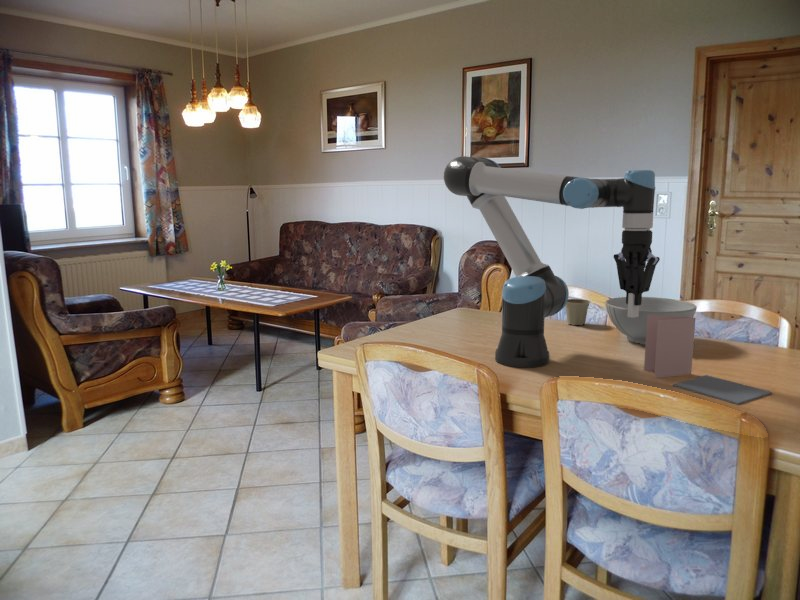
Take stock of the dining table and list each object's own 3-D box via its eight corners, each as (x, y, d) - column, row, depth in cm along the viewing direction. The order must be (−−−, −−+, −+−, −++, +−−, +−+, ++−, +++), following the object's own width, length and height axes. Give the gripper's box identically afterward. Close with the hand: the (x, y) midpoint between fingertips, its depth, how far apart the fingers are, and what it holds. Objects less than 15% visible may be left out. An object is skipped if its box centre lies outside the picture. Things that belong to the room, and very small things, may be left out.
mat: (737, 404, 131) (737, 402, 131) (672, 385, 145) (672, 384, 145) (771, 393, 138) (771, 391, 138) (706, 376, 152) (706, 375, 152)
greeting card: (690, 373, 155) (695, 316, 153) (694, 381, 148) (699, 322, 146) (643, 369, 159) (647, 314, 156) (645, 377, 152) (649, 320, 149)
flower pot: (557, 322, 219) (558, 299, 217) (579, 320, 222) (580, 298, 220) (572, 327, 210) (573, 303, 209) (594, 325, 213) (595, 302, 211)
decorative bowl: (587, 339, 192) (588, 303, 190) (630, 327, 209) (632, 294, 207) (668, 356, 172) (671, 315, 170) (708, 341, 189) (711, 303, 187)
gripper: (668, 229, 154) (662, 318, 158) (626, 228, 165) (622, 311, 169) (649, 230, 150) (644, 322, 154) (607, 229, 161) (604, 314, 165)
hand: (632, 316), depth 161 cm, fingers closed
